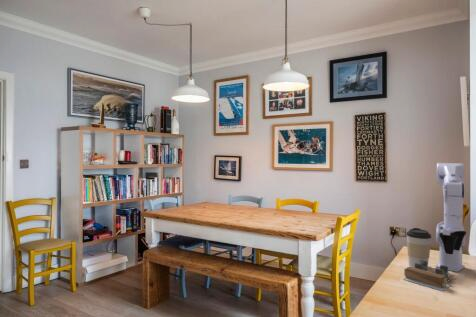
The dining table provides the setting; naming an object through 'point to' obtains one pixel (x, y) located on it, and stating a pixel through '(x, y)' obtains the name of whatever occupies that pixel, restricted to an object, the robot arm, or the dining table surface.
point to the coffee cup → (418, 246)
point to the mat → (427, 284)
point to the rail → (425, 277)
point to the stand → (442, 270)
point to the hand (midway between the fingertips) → (452, 251)
